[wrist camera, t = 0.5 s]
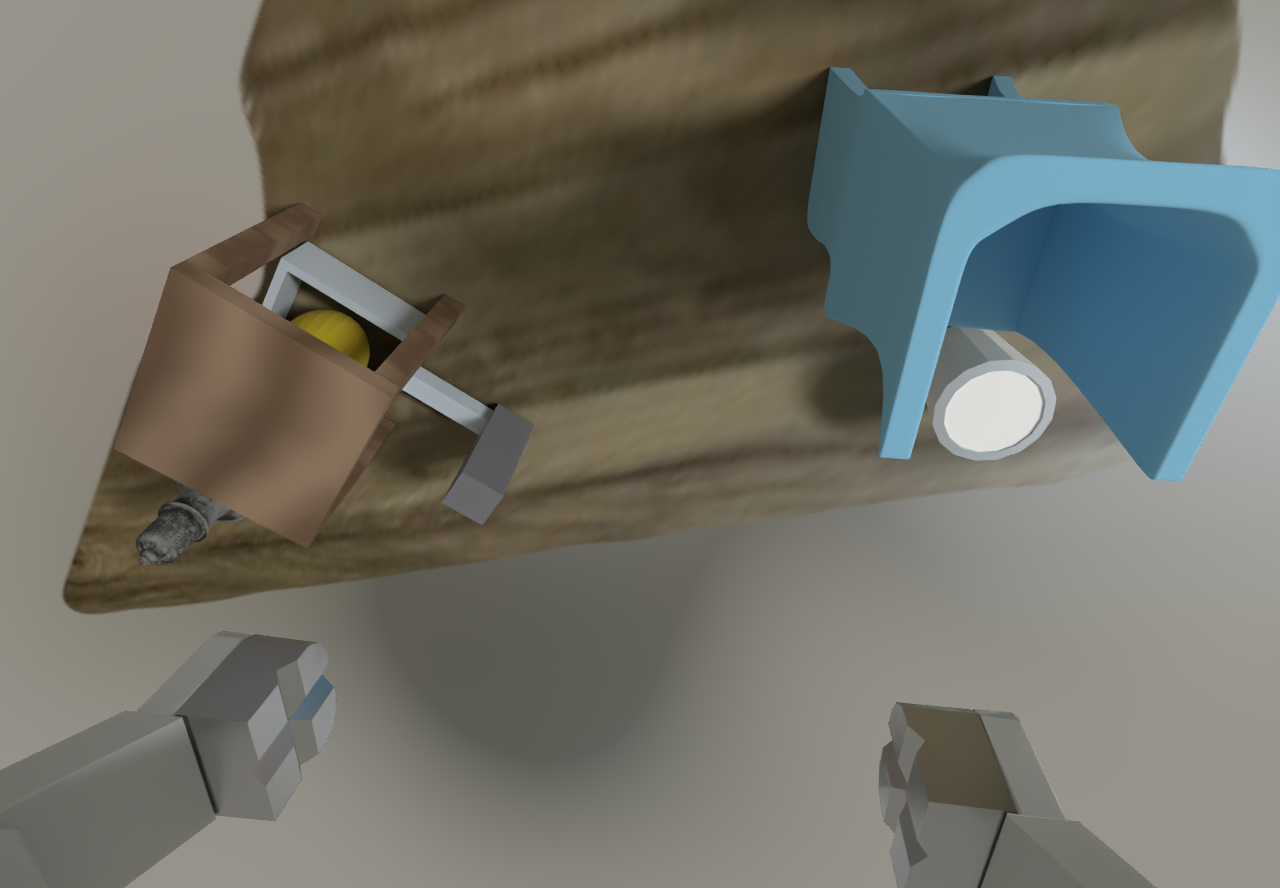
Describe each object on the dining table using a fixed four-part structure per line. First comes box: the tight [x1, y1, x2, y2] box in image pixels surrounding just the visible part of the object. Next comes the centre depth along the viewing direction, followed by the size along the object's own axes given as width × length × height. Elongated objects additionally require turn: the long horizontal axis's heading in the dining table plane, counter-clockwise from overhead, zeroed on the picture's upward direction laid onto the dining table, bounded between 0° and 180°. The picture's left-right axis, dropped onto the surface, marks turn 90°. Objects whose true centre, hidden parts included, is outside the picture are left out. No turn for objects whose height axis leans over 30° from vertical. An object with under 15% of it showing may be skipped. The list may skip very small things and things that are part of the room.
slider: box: [262, 242, 533, 525], centre depth 48 cm, size 19×9×9 cm, turn 56°
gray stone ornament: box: [136, 481, 245, 566], centre depth 54 cm, size 6×6×12 cm
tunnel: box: [114, 203, 464, 548], centre depth 46 cm, size 12×13×13 cm
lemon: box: [290, 309, 370, 367], centre depth 48 cm, size 6×6×8 cm
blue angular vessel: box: [807, 67, 1280, 482], centre depth 32 cm, size 10×10×25 cm
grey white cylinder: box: [926, 326, 1056, 461], centre depth 46 cm, size 7×7×7 cm
